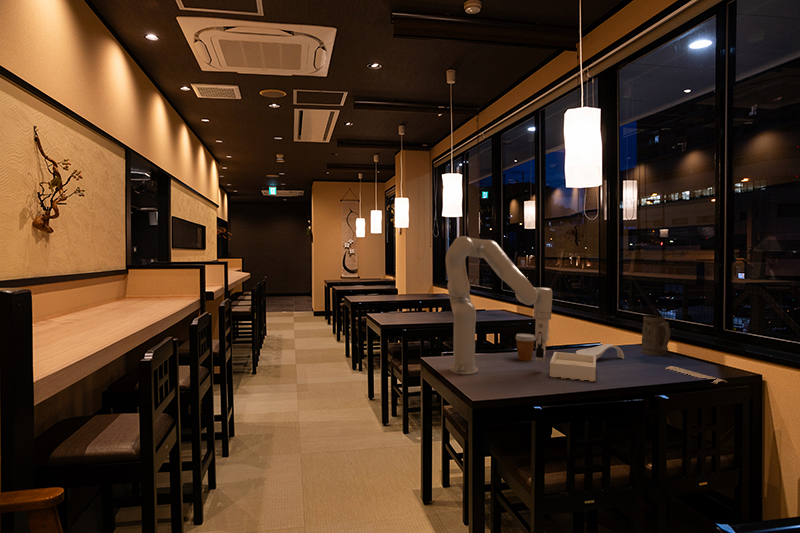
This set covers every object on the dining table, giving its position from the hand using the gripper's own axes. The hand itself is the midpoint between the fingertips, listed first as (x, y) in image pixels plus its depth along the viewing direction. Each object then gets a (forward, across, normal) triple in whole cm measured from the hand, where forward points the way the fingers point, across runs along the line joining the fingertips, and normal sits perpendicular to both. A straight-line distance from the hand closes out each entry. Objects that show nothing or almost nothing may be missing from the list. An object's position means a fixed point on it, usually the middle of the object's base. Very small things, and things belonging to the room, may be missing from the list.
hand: (540, 355), depth 205 cm
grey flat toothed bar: (+6, +21, -63) cm, 67 cm away
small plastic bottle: (+2, 0, 0) cm, 2 cm away
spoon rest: (+6, +36, -25) cm, 44 cm away
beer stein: (+5, +57, -52) cm, 78 cm away
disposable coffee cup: (+7, +19, +9) cm, 23 cm away
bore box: (+7, +4, -14) cm, 16 cm away
